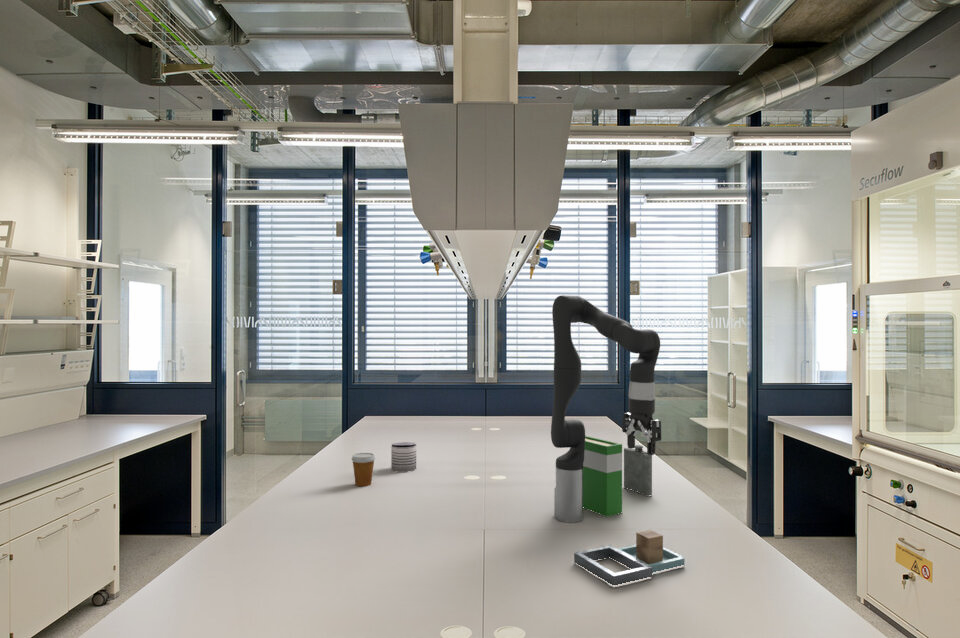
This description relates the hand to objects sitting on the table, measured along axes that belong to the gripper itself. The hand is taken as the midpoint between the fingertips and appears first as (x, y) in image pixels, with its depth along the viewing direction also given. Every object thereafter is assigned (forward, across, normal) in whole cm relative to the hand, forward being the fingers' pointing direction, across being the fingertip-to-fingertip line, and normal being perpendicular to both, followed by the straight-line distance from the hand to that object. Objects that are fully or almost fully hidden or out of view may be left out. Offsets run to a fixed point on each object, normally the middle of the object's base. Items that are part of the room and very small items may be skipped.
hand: (640, 451), depth 173 cm
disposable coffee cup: (+31, -100, -58) cm, 119 cm away
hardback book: (+29, -34, +10) cm, 46 cm away
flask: (+30, -44, +38) cm, 65 cm away
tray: (+28, +11, -6) cm, 30 cm away
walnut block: (+27, +11, -6) cm, 30 cm away
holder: (+28, +11, -19) cm, 35 cm away
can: (+32, -117, -35) cm, 126 cm away
